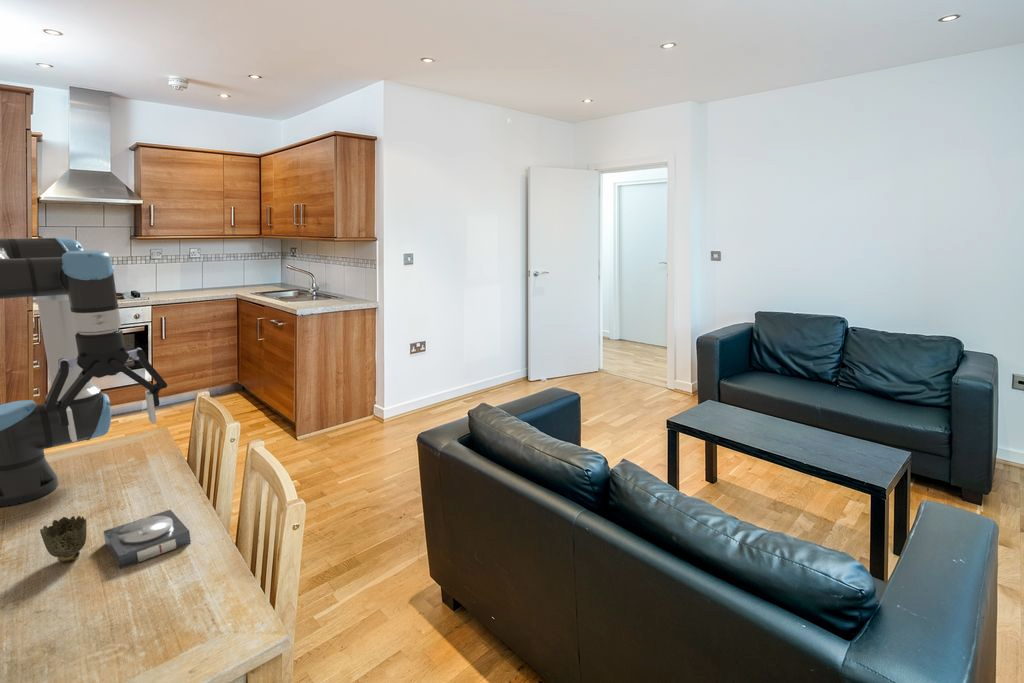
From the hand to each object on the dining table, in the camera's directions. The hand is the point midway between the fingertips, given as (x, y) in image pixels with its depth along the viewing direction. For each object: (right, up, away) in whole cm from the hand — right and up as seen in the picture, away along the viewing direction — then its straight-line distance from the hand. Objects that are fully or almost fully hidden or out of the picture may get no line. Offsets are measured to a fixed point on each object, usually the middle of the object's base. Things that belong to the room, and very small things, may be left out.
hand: (114, 430), depth 113 cm
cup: (-11, -28, +2) cm, 30 cm away
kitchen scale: (+2, -26, +8) cm, 27 cm away
